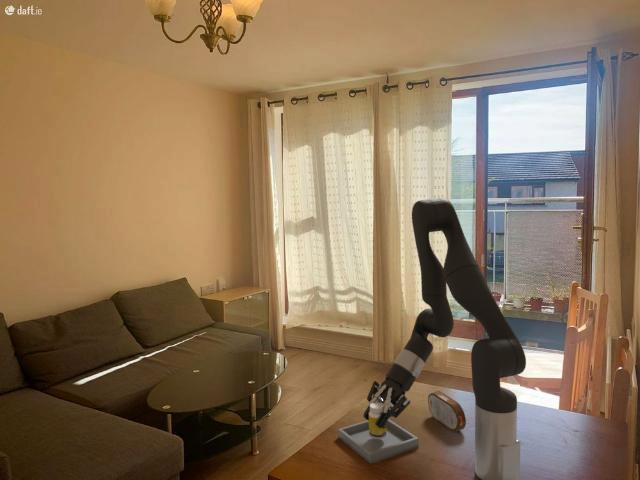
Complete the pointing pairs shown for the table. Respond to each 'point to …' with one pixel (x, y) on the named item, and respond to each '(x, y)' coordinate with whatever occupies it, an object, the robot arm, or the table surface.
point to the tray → (378, 441)
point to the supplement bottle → (373, 417)
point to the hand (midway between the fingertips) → (371, 422)
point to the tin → (446, 411)
